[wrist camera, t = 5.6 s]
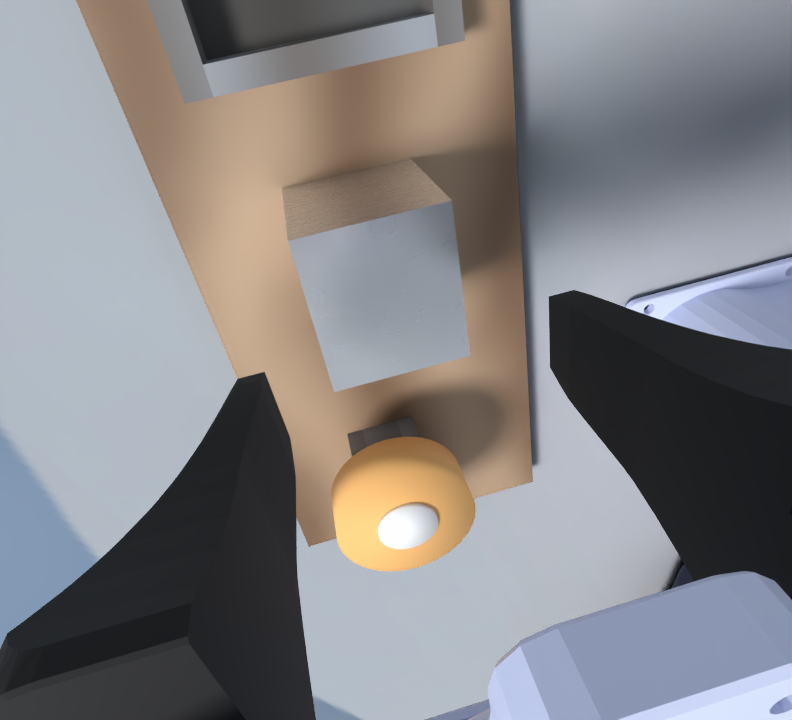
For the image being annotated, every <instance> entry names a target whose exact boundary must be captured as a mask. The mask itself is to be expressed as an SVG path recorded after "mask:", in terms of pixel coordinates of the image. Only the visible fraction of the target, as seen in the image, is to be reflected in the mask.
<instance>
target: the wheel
mask: <svg viewBox="0 0 792 720" xmlns="http://www.w3.org/2000/svg"><path fill="white" fill-rule="evenodd" d="M331 501H332V508H333V515H334V522H335V529H336V536H337V541H338V545H339V547H340V549H341V551H342V552H343V553H344V554H345V556H346V557H348V558H349V559H350V560H351V561H353V562H354V563H356V564H358V565H360V566H362V567H365V568H368V569H373V570H379V571H401V570H407V569H412V568H416V567H419V566H422V565H425V564H428V563H430V562H432V561H435V560H436V559H438V558H440V557H442V556H444V555H445V554H447V553H448V552H450V551H451V550H452V549H453V548H455V547H456V546H457V545H458V544H459V543H460V542H461V541H462V540H463V538H464V537H465V536H466V535H467V533H468V532H469V530H470V528H471V526H472V524H473V521H474V518H475V502H474V498H473V496H472V494H471V492H470V489H469V487H468V485H467V482H466V480H465V478H464V475H463V473H462V471H461V468H460V466H459V464H458V462H457V460H456V458H455V456H454V455H453V454H452V453H451V452H450V451H449V450H448V449H447V448H446V447H444V446H443V445H441V444H439V443H437V442H435V441H432V440H429V439H425V438H421V437H398V438H391V439H387V440H383V441H380V442H377V443H375V444H372V445H370V446H368V447H366V448H364V449H363V450H361V451H359V452H358V453H356V454H355V455H354V456H352V457H351V458H350V459H349V460H348V461H347V462H346V463H345V464H344V465H343V466H342V467H341V469H340V470H339V472H338V473H337V475H336V477H335V479H334V482H333V485H332V490H331Z"/></svg>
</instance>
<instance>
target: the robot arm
mask: <svg viewBox="0 0 792 720" xmlns="http://www.w3.org/2000/svg"><path fill="white" fill-rule="evenodd" d="M787 269H788V270H787ZM647 305H649V306H648V308H647V309H645V310H644V308H645V307H646V306H647ZM549 328H550V368H551V369H552V371H553V373H554V375H555V377H556V378H557V380H558V382H559V384H560V385H561V387H562V389H563V390H564V392H565V394H566V395H567V397H568V399H569V400H570V401H571V403H572V404H573V405H574V407H575V408H576V409H577V410H578V412H579V413H580V414H581V415H582V417H583V418H584V419H585V420H586V422H587V423H588V424H589V425H590V427H591V428H592V429H593V430H594V432H595V433H596V434H597V435H598V436H599V438H600V439H601V440H602V441H603V443H604V444H605V445H606V446H607V448H608V449H609V450H610V451H611V453H612V454H613V455H614V456H615V457H616V459H617V460H618V461H619V462H620V464H621V465H622V466H623V467H624V469H625V470H626V472H627V473H628V474H629V476H630V477H631V478H632V480H633V481H634V483H635V484H636V486H637V487H638V489H639V490H640V492H641V494H642V495H643V497H644V498H645V500H646V501H647V503H648V504H649V506H650V508H651V509H652V511H653V512H654V514H655V515H656V517H657V519H658V520H659V522H660V524H661V525H662V527H663V529H664V530H665V532H666V534H667V535H668V537H669V539H670V540H671V542H672V544H673V545H674V547H675V549H676V550H677V552H678V554H679V556H680V557H681V559H682V561H683V563H684V565H685V566H686V568H687V570H688V572H689V573H690V575H691V577H692V579H693V581H694V582H691V583H688V584H685V585H682V586H678V587H675V588H672V589H669V590H665V591H662V592H659V593H656V594H653V595H649V596H646V597H643V598H640V599H636V600H633V601H630V602H627V603H624V604H620V605H617V606H614V607H611V608H607V609H604V610H601V611H598V612H595V613H591V614H588V615H585V616H582V617H578V618H575V619H572V620H569V621H566V622H562V623H559V624H556V625H553V626H551V627H549V628H547V629H545V630H542V631H540V632H538V633H536V634H534V635H532V636H530V637H527V638H525V639H523V640H521V641H520V642H519V643H518V644H517V645H515V646H514V647H513V648H512V649H511V650H510V651H509V652H508V653H507V654H505V655H504V656H503V657H502V658H501V659H500V660H499V661H498V662H497V664H496V666H495V668H494V671H493V674H492V677H491V681H490V684H489V687H488V690H487V691H488V697H489V699H488V700H485V701H482V702H479V703H476V704H473V705H470V706H466V707H463V708H460V709H457V710H454V711H451V712H448V713H444V714H441V715H438V716H435V717H432V718H429V719H426V720H792V257H790V258H786V259H783V260H779V261H775V262H771V263H768V264H764V265H760V266H756V267H753V268H749V269H745V270H741V271H738V272H734V273H730V274H727V275H723V276H719V277H715V278H712V279H708V280H704V281H700V282H697V283H693V284H689V285H685V286H682V287H678V288H674V289H670V290H667V291H663V292H659V293H655V294H652V295H648V296H644V297H641V298H637V299H634V300H632V301H630V302H629V303H628V304H627V305H626V307H623V306H620V305H617V304H614V303H612V302H609V301H606V300H603V299H601V298H598V297H595V296H592V295H589V294H586V293H582V292H579V291H575V290H572V291H569V292H565V293H561V294H557V295H553V296H550V297H549ZM0 720H316V718H315V711H314V704H313V697H312V690H311V683H310V676H309V669H308V662H307V654H306V646H305V639H304V631H303V623H302V615H301V606H300V597H299V588H298V579H297V560H296V474H295V466H294V459H293V452H292V446H291V439H290V436H289V433H288V431H287V428H286V426H285V423H284V420H283V418H282V415H281V413H280V410H279V408H278V405H277V402H276V400H275V397H274V395H273V392H272V390H271V387H270V384H269V382H268V379H267V377H266V374H265V372H262V373H258V374H254V375H250V376H246V377H243V378H239V379H238V380H237V381H236V383H235V385H234V386H233V388H232V390H231V391H230V393H229V395H228V397H227V399H226V400H225V402H224V404H223V406H222V408H221V409H220V411H219V413H218V415H217V417H216V418H215V420H214V422H213V423H212V425H211V427H210V428H209V430H208V432H207V433H206V435H205V437H204V438H203V440H202V442H201V443H200V445H199V446H198V448H197V449H196V451H195V452H194V454H193V455H192V457H191V458H190V459H189V461H188V462H187V464H186V465H185V467H184V468H183V470H182V471H181V472H180V474H179V475H178V476H177V478H176V479H175V480H174V481H173V483H172V484H171V485H170V487H169V488H168V489H167V490H166V491H165V493H164V494H163V495H162V496H161V497H160V498H159V500H158V501H157V502H156V503H155V504H154V506H153V507H152V508H151V509H150V510H149V511H148V512H147V513H146V514H145V515H144V516H143V517H142V518H141V519H140V520H139V521H138V522H137V524H136V525H135V526H134V527H133V528H132V529H131V530H130V531H129V532H128V533H127V534H126V535H125V536H124V537H123V538H122V539H121V540H120V541H119V542H118V543H117V544H116V545H115V546H114V547H113V548H112V549H111V550H110V551H109V552H107V553H106V554H105V555H104V556H103V557H102V558H101V559H100V560H99V561H98V562H97V563H95V564H94V565H93V566H92V567H91V568H90V569H89V570H87V571H86V572H85V573H84V574H83V575H82V576H81V577H79V578H78V579H77V580H76V581H75V582H73V583H72V584H71V585H70V586H69V587H68V588H66V589H65V590H64V591H63V592H61V593H60V594H59V595H57V596H56V597H55V598H54V599H52V600H51V601H50V602H49V603H47V604H46V605H45V606H43V607H42V608H41V609H39V610H38V611H37V612H35V613H34V614H33V615H32V616H31V617H29V618H28V619H26V620H25V621H24V622H22V623H21V624H20V625H18V626H17V627H16V628H14V629H13V630H11V631H10V632H9V633H7V636H6V638H5V640H4V642H3V644H2V647H1V649H0Z"/></svg>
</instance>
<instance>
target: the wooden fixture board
mask: <svg viewBox="0 0 792 720" xmlns="http://www.w3.org/2000/svg"><path fill="white" fill-rule="evenodd" d="M76 1H77V4H78V6H79V8H80V11H81V13H82V15H83V18H84V20H85V22H86V25H87V27H88V29H89V32H90V34H91V36H92V39H93V41H94V43H95V46H96V48H97V50H98V53H99V55H100V57H101V60H102V62H103V65H104V67H105V69H106V72H107V74H108V76H109V79H110V81H111V83H112V86H113V88H114V90H115V93H116V95H117V97H118V100H119V102H120V104H121V107H122V109H123V111H124V114H125V116H126V118H127V121H128V123H129V125H130V128H131V130H132V133H133V135H134V137H135V140H136V142H137V144H138V147H139V149H140V151H141V154H142V156H143V158H144V161H145V163H146V165H147V168H148V170H149V172H150V175H151V177H152V179H153V182H154V184H155V186H156V189H157V191H158V193H159V196H160V198H161V201H162V203H163V205H164V208H165V210H166V212H167V215H168V217H169V219H170V222H171V224H172V226H173V229H174V231H175V233H176V236H177V238H178V240H179V243H180V245H181V247H182V250H183V252H184V254H185V257H186V259H187V261H188V264H189V266H190V269H191V271H192V273H193V276H194V278H195V280H196V283H197V285H198V287H199V290H200V292H201V294H202V297H203V299H204V301H205V304H206V306H207V308H208V311H209V313H210V315H211V318H212V320H213V322H214V325H215V327H216V329H217V332H218V334H219V337H220V339H221V341H222V344H223V346H224V348H225V351H226V353H227V355H228V358H229V360H230V362H231V365H232V367H233V369H234V372H235V374H236V376H237V379H239V378H243V377H246V376H250V375H254V374H258V373H262V372H265V374H266V377H267V379H268V382H269V384H270V387H271V390H272V392H273V395H274V397H275V400H276V402H277V405H278V408H279V410H280V413H281V415H282V418H283V420H284V423H285V426H286V428H287V431H288V433H289V436H290V439H291V446H292V452H293V459H294V466H295V474H296V517H297V519H298V522H299V524H300V526H301V529H302V531H303V533H304V536H305V538H306V541H307V543H308V545H309V546H311V545H315V544H318V543H322V542H325V541H329V540H332V539H336V538H337V536H336V529H335V522H334V515H333V508H332V501H331V490H332V485H333V482H334V479H335V477H336V475H337V473H338V472H339V470H340V469H341V467H342V466H343V465H344V464H345V463H346V462H347V461H348V460H349V459H350V458H351V457H352V456H354V455H355V454H356V453H358V452H359V451H361V450H363V449H364V448H366V447H368V446H370V445H372V444H375V443H377V442H380V441H383V440H387V439H391V438H398V437H421V438H425V439H429V440H432V441H435V442H437V443H439V444H441V445H443V446H444V447H446V448H447V449H448V450H449V451H450V452H451V453H452V454H453V455H454V456H455V458H456V460H457V462H458V464H459V466H460V468H461V471H462V473H463V475H464V478H465V480H466V482H467V485H468V487H469V489H470V492H471V494H472V496H473V498H477V497H481V496H484V495H488V494H491V493H495V492H498V491H501V490H505V489H508V488H512V487H515V486H519V485H522V484H526V483H529V482H533V477H532V456H531V435H530V414H529V393H528V372H527V351H526V331H525V310H524V289H523V268H522V247H521V226H520V205H519V185H518V164H517V143H516V122H515V101H514V80H513V60H512V39H511V18H510V0H76ZM406 158H410V159H411V160H412V161H413V162H414V163H415V164H416V165H417V166H418V167H419V168H420V169H421V170H422V171H423V172H424V173H425V174H426V175H427V176H428V177H429V178H430V179H431V180H432V181H433V182H434V183H435V184H436V185H437V186H438V187H439V188H440V189H441V190H442V191H443V192H444V193H445V194H446V195H447V196H448V197H449V198H450V199H451V200H452V205H453V213H454V221H455V230H456V238H457V247H458V255H459V263H460V272H461V280H462V289H463V297H464V305H465V314H466V322H467V331H468V339H469V347H470V356H467V357H463V358H460V359H456V360H452V361H448V362H445V363H441V364H437V365H434V366H430V367H426V368H422V369H419V370H415V371H411V372H408V373H404V374H400V375H396V376H393V377H389V378H385V379H382V380H378V381H374V382H370V383H367V384H363V385H359V386H356V387H352V388H348V389H344V390H341V391H337V392H334V390H333V387H332V384H331V380H330V377H329V374H328V371H327V367H326V364H325V361H324V358H323V354H322V351H321V348H320V344H319V341H318V338H317V335H316V331H315V328H314V325H313V322H312V318H311V315H310V312H309V309H308V305H307V302H306V299H305V295H304V292H303V289H302V286H301V282H300V279H299V276H298V273H297V269H296V266H295V263H294V259H293V256H292V253H291V250H290V246H289V243H288V238H287V229H286V221H285V212H284V203H283V195H282V188H285V187H290V186H294V185H298V184H302V183H306V182H310V181H315V180H319V179H323V178H327V177H331V176H335V175H340V174H344V173H348V172H352V171H356V170H361V169H365V168H369V167H373V166H377V165H381V164H386V163H390V162H394V161H398V160H402V159H406Z"/></svg>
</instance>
